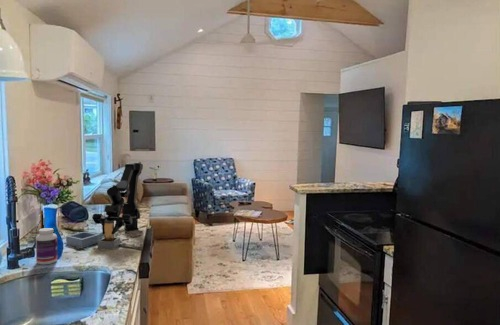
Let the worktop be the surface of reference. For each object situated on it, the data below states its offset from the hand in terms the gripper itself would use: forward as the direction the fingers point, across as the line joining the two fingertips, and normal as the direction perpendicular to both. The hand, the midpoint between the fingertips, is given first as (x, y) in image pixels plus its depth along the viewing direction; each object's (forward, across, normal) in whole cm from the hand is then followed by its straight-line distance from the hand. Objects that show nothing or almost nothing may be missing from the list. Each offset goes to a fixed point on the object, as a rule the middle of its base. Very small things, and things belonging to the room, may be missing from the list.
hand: (108, 234), depth 183 cm
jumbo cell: (+4, 0, +6) cm, 7 cm away
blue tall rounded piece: (-10, -38, +20) cm, 44 cm away
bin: (+1, -14, +8) cm, 17 cm away
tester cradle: (+4, 0, +6) cm, 7 cm away
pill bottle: (+21, -17, -11) cm, 29 cm away
